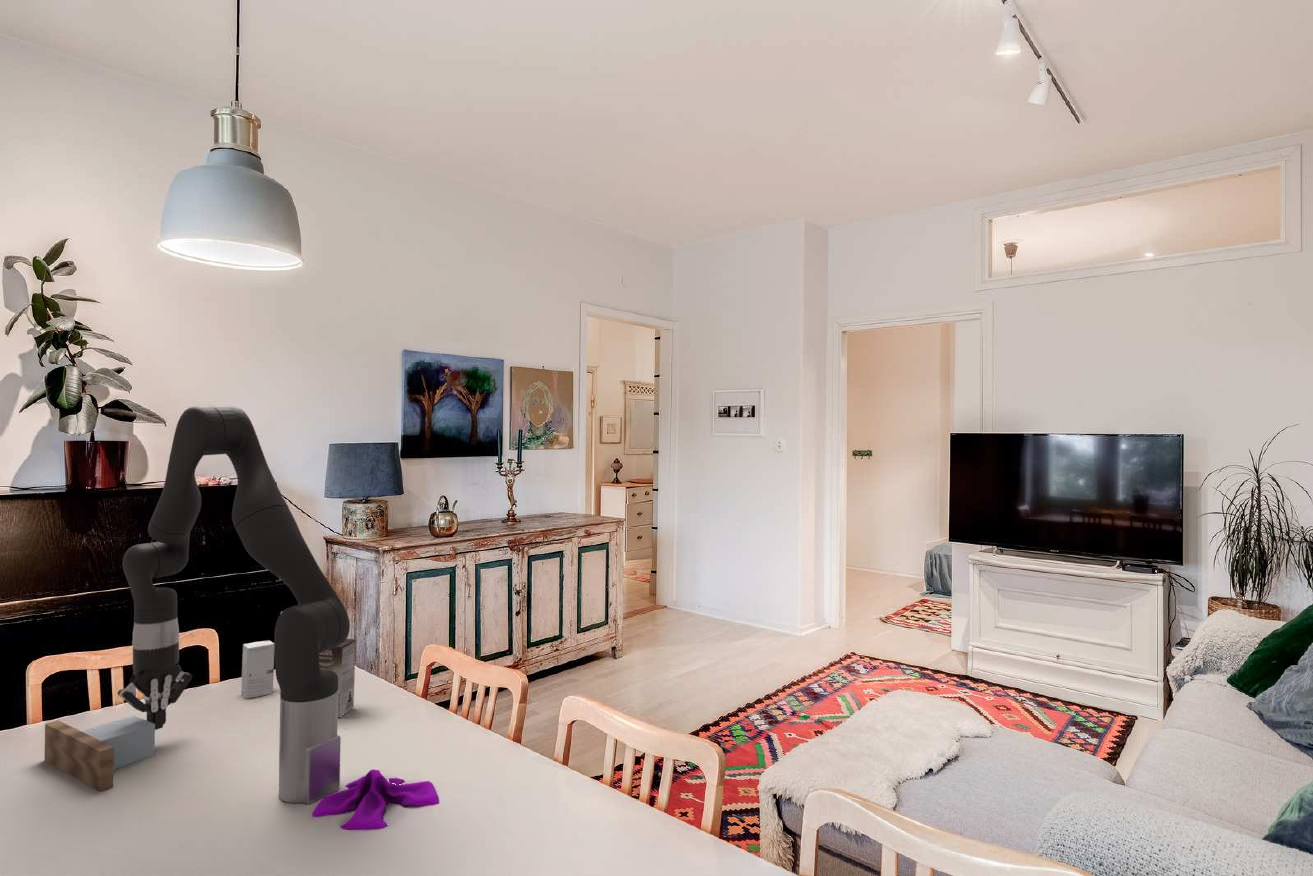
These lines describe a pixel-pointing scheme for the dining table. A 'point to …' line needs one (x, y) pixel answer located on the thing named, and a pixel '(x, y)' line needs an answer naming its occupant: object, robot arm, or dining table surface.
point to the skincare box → (257, 669)
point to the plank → (79, 755)
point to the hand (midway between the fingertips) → (156, 728)
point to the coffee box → (342, 672)
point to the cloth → (374, 800)
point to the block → (127, 739)
